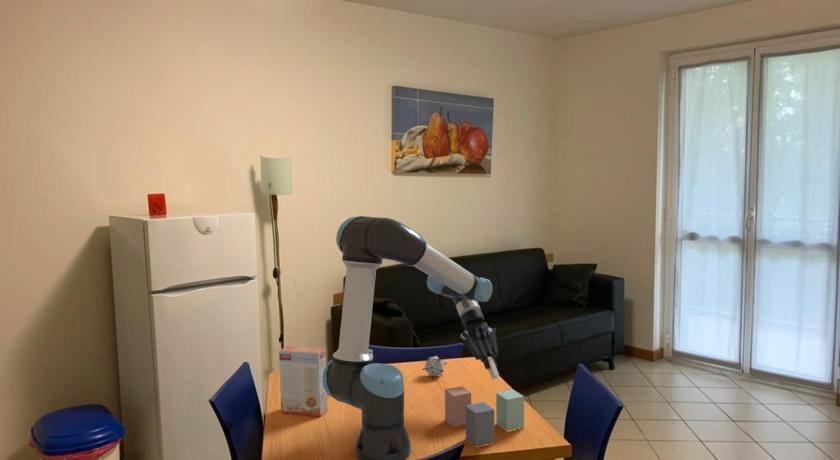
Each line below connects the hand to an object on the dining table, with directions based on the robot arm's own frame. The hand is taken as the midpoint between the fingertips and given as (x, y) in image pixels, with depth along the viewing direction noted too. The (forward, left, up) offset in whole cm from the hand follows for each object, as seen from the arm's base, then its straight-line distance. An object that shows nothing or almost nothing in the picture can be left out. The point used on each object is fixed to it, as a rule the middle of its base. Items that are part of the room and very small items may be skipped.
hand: (495, 377), depth 181 cm
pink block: (-9, +10, -12) cm, 18 cm away
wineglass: (+15, +51, -13) cm, 55 cm away
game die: (+29, +28, -13) cm, 42 cm away
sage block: (-7, -6, -12) cm, 15 cm away
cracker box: (-15, +60, -13) cm, 63 cm away
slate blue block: (-19, +1, -12) cm, 23 cm away
